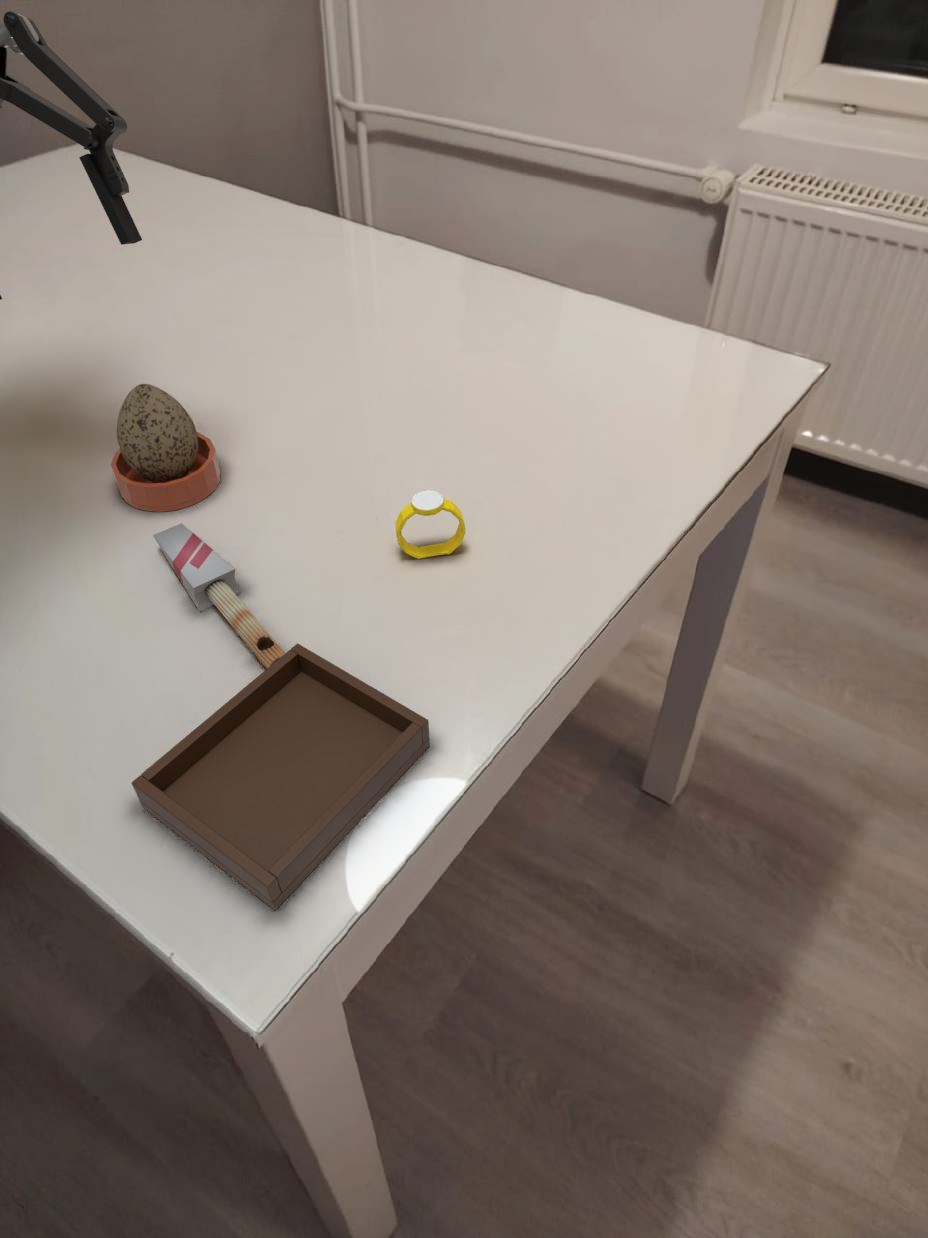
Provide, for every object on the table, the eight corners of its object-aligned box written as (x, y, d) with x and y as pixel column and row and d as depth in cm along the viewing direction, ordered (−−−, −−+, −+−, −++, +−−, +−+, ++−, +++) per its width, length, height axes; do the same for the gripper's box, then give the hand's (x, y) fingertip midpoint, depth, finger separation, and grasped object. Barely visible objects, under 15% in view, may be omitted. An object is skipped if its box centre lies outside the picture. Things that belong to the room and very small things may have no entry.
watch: (462, 539, 79) (461, 485, 75) (467, 559, 77) (467, 505, 73) (396, 546, 78) (392, 493, 74) (400, 566, 76) (396, 513, 72)
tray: (275, 911, 53) (267, 887, 51) (142, 808, 59) (130, 782, 57) (430, 745, 62) (428, 719, 60) (302, 669, 68) (297, 642, 66)
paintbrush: (184, 507, 77) (298, 643, 67) (190, 531, 79) (302, 666, 69) (142, 524, 76) (253, 665, 65) (150, 547, 78) (258, 688, 67)
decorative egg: (157, 508, 81) (127, 415, 74) (117, 477, 85) (85, 386, 78) (221, 476, 85) (198, 384, 78) (180, 447, 88) (155, 357, 81)
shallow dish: (111, 514, 82) (101, 488, 80) (130, 456, 88) (122, 431, 86) (214, 509, 82) (207, 483, 80) (225, 451, 89) (219, 426, 87)
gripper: (78, -85, 64) (208, 215, 72) (-193, 53, 68) (-41, 320, 77) (27, -119, 57) (177, 216, 65) (-270, 37, 62) (-94, 331, 70)
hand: (60, 273), depth 71 cm, fingers open, 13 cm apart
